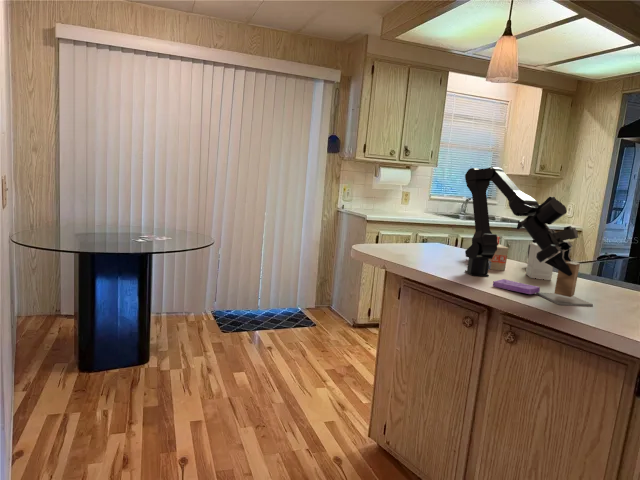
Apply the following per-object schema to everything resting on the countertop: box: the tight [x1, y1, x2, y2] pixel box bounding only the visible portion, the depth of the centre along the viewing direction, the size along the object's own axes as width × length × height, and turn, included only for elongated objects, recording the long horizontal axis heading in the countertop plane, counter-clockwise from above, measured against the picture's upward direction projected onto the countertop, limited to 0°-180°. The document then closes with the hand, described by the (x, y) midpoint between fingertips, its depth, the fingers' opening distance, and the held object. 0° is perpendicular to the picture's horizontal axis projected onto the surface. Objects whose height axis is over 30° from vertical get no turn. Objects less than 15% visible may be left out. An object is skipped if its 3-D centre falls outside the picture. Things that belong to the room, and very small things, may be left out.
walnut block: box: [553, 260, 581, 297], centre depth 135 cm, size 4×4×10 cm
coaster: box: [535, 291, 594, 307], centre depth 136 cm, size 11×11×1 cm
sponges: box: [492, 278, 541, 295], centre depth 144 cm, size 7×13×2 cm, turn 39°
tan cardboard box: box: [473, 231, 509, 271], centre depth 184 cm, size 21×6×12 cm, turn 1°
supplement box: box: [525, 242, 554, 281], centre depth 166 cm, size 7×7×13 cm
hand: (572, 274), depth 134 cm, fingers closed on walnut block, 4 cm apart
